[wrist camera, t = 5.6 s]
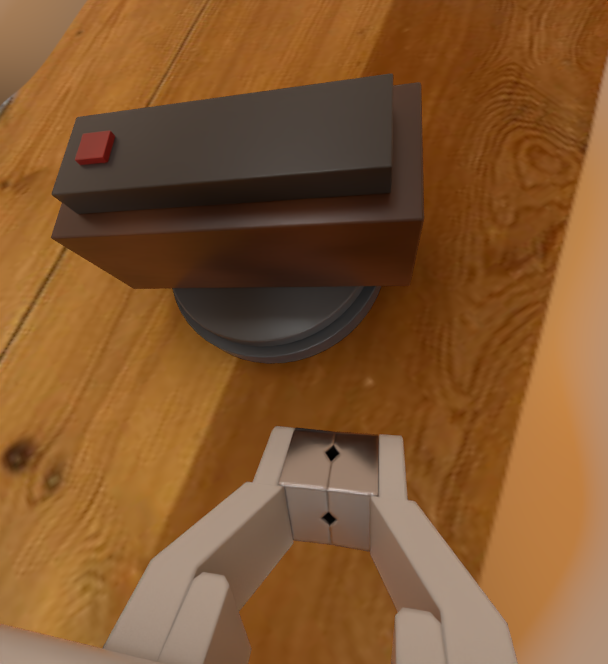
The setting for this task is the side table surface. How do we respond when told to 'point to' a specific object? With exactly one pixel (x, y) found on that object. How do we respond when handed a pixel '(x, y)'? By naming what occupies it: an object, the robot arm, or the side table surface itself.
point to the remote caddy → (252, 202)
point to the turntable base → (300, 347)
